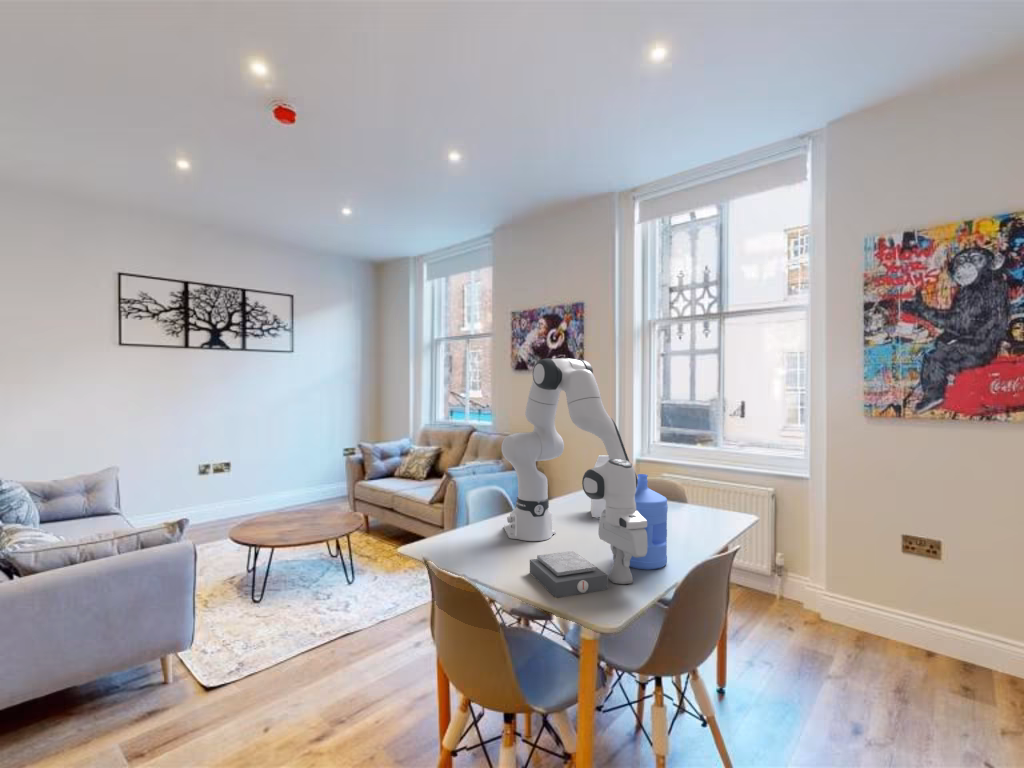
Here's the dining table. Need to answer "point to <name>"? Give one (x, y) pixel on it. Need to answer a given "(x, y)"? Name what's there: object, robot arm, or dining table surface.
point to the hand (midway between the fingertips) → (621, 563)
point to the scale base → (568, 580)
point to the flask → (620, 570)
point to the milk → (599, 505)
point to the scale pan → (566, 563)
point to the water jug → (651, 526)
